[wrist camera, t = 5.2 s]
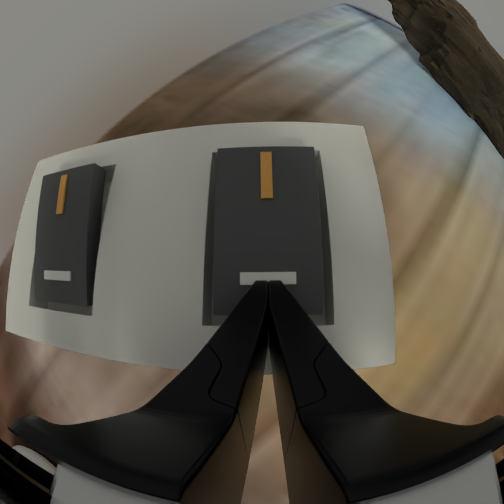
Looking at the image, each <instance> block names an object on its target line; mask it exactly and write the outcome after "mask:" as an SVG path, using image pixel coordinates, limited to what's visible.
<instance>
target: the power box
mask: <svg viewBox="0 0 504 504" xmlns="http://www.w3.org/2000/svg"><path fill="white" fill-rule="evenodd" d="M264 146H303V147H314V151H315V161H316V170H317V181H318V192H319V205H320V219H321V237H322V259H323V314H315V315H309V317H310V318H311V319H312V321H313V322H314V323H315V324H316V326H317V327H318V328H319V330H320V331H321V332H322V333H323V335H324V336H325V337H326V339H327V340H328V341H329V342H328V343H330V344H331V345H332V346H333V348H334V349H335V350H336V351H337V353H338V354H339V355H340V356H341V357H342V359H343V360H344V361H345V362H346V363H347V364H348V365H349V366H350V367H351V368H352V369H361V368H369V367H377V366H384V365H390V364H395V309H394V291H393V279H392V268H391V259H390V250H389V242H388V235H387V229H386V222H385V216H384V210H383V205H382V200H381V195H380V190H379V185H378V180H377V176H376V172H375V167H374V163H373V159H372V155H371V151H370V148H369V144H368V140H367V137H366V133H365V130H364V127H363V126H357V125H346V124H333V123H315V122H247V123H229V124H215V125H204V126H194V127H186V128H178V129H170V130H164V131H157V132H151V133H145V134H140V135H134V136H129V137H124V138H119V139H115V140H110V141H106V142H102V143H98V144H94V145H90V146H86V147H82V148H79V149H75V150H71V151H68V152H65V153H61V154H58V155H55V156H52V157H49V158H46V159H43V160H40V161H38V164H37V166H36V169H35V172H34V175H33V178H32V180H31V184H30V186H29V189H28V193H27V196H26V200H25V203H24V206H23V210H22V214H21V217H20V221H19V226H18V230H17V234H16V239H15V244H14V249H13V255H12V261H11V268H10V275H9V284H8V294H7V308H6V331H8V332H11V333H14V334H16V335H19V336H22V337H25V338H28V339H31V340H34V341H37V342H41V343H44V344H47V345H51V346H54V347H58V348H62V349H65V350H69V351H73V352H77V353H81V354H86V355H90V356H95V357H99V358H104V359H109V360H114V361H120V362H126V363H132V364H138V365H144V366H151V367H159V368H167V369H176V370H183V369H184V368H185V367H186V366H187V365H188V364H189V363H190V362H191V361H192V360H193V359H194V358H195V357H196V355H197V354H198V353H199V352H200V351H201V349H202V348H203V347H204V346H205V344H206V343H207V342H208V341H209V340H210V338H211V337H212V336H213V334H214V333H215V332H216V331H217V329H218V328H219V327H220V326H221V324H222V323H223V322H224V320H225V319H226V318H227V317H228V315H213V250H214V213H215V187H216V167H217V149H219V148H236V147H264ZM93 163H96V164H97V165H99V166H101V167H102V168H104V169H105V170H106V177H105V185H104V194H103V204H102V215H101V231H100V243H99V250H98V257H97V265H96V273H95V283H94V295H93V305H92V306H80V305H72V304H64V303H57V302H50V301H43V300H37V299H36V296H35V241H36V226H37V216H38V207H39V199H40V192H41V186H42V180H43V176H45V175H48V174H52V173H55V172H59V171H63V170H67V169H71V168H75V167H79V166H84V165H88V164H93ZM264 374H272V367H271V360H270V352H269V339H268V349H267V356H266V363H265V370H264Z"/></svg>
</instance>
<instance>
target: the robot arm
mask: <svg viewBox="0 0 504 504" xmlns="http://www.w3.org/2000/svg"><path fill="white" fill-rule="evenodd" d="M268 339H269V352H270V360H271V367H272V374H273V382H274V389H275V396H276V404H277V411H278V419H279V426H280V434H281V441H282V449H283V456H284V461H285V462H284V464H285V472H286V480H287V487H288V495H289V503H290V504H504V459H502V460H501V461H500V462H498V463H497V464H496V463H495V460H494V456H493V452H494V451H495V450H497V449H498V448H499V447H501V446H502V445H504V416H501V415H496V416H494V417H492V418H490V419H488V420H486V421H484V422H482V423H479V424H476V425H456V424H451V423H446V422H441V421H437V420H432V419H428V418H424V417H420V416H416V415H412V414H409V413H405V412H402V411H399V410H397V409H395V408H394V407H392V406H391V405H389V404H388V403H387V402H385V401H384V400H383V399H382V398H381V397H380V396H379V395H378V394H377V393H376V392H375V391H374V390H373V389H372V388H371V387H370V386H369V385H368V384H367V383H366V382H365V381H364V380H363V379H362V378H361V377H360V376H358V375H357V374H356V373H355V371H354V370H353V369H352V368H351V367H350V366H349V365H348V364H347V363H346V362H345V361H344V360H343V359H342V357H341V356H340V355H339V354H338V353H337V351H336V350H335V349H334V348H333V346H332V345H331V344H330V343H328V342H329V341H328V340H327V339H326V337H325V336H324V335H323V333H322V332H321V331H320V330H319V328H318V327H317V326H316V324H315V323H314V322H313V321H312V319H311V318H310V317H309V315H308V314H307V313H306V312H305V310H304V309H303V308H302V306H301V305H300V304H299V303H298V301H297V300H296V299H295V298H294V296H293V295H292V294H291V292H290V291H289V290H288V289H287V287H286V286H285V285H284V283H283V282H282V281H281V280H270V281H269V282H268V281H267V280H256V281H255V282H254V283H253V284H252V286H251V287H250V288H249V290H248V291H247V292H246V294H245V295H244V296H243V297H242V299H241V300H240V301H239V303H238V304H237V305H236V306H235V308H234V309H233V310H232V312H231V313H230V314H229V315H228V317H227V318H226V319H225V320H224V322H223V323H222V324H221V326H220V327H219V328H218V329H217V331H216V332H215V333H214V334H213V336H212V337H211V338H210V340H209V341H208V342H207V343H206V344H205V346H204V347H203V348H202V349H201V351H200V352H199V353H198V354H197V355H196V357H195V358H194V359H193V360H192V361H191V362H190V363H189V364H188V365H187V366H186V367H185V368H184V369H183V370H182V371H181V372H180V373H179V374H178V375H177V376H176V377H175V378H174V379H173V380H172V381H171V382H170V383H169V384H168V385H167V386H166V387H165V388H163V389H162V390H161V391H160V392H159V393H158V394H157V395H156V396H155V397H154V398H153V399H151V400H150V401H149V402H148V403H147V404H145V405H144V406H142V407H141V408H139V409H137V410H135V411H132V412H129V413H125V414H121V415H117V416H113V417H109V418H104V419H100V420H95V421H90V422H85V423H80V424H73V425H59V424H53V423H50V422H48V421H46V420H44V419H42V418H40V417H38V416H36V415H30V416H26V417H22V418H19V419H16V420H15V421H13V422H12V423H11V424H10V425H9V426H8V429H9V430H10V431H11V432H12V433H14V434H15V435H16V436H17V437H19V438H20V439H21V440H23V441H24V442H25V443H27V444H28V445H30V446H31V447H32V448H34V449H35V450H37V451H38V452H40V453H41V454H43V455H44V456H46V457H47V458H49V459H50V460H52V461H54V462H55V463H57V467H56V471H55V474H54V475H53V474H52V473H50V472H48V471H46V470H45V469H43V468H42V467H40V466H38V465H37V464H35V463H34V462H32V461H31V460H29V459H28V458H26V457H25V456H23V455H22V454H20V453H19V452H18V451H16V450H15V449H13V448H12V447H11V446H9V445H8V444H7V443H5V442H4V441H2V440H1V439H0V504H241V499H242V494H243V489H244V484H245V479H246V474H247V469H248V463H249V462H248V461H249V458H250V452H251V447H252V442H253V436H254V430H255V425H256V419H257V413H258V407H259V401H260V395H261V389H262V382H263V376H264V370H265V363H266V356H267V349H268Z"/></svg>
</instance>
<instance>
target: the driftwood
mask: <svg viewBox="0 0 504 504" xmlns="http://www.w3.org/2000/svg"><path fill="white" fill-rule="evenodd" d="M388 1H389V2H390V3H391V4H392V8H393V10H392V14H393V16H394V19H395V21H396V22H397V23H398V24H399V25H401V27H402V29H403V30H404V32H405V35H406V38H407V39H408V41H409V42H410V44H411V45H412V46H413V47H414V48H415V49H416V50H417V51H418V52H419V53H420V57H419V61H420V62H421V63H422V64H423V65H424V66H425V67H426V68H427V69H428V70H429V71H430V72H431V73H432V75H433V76H434V78H435V80H436V81H437V82H438V83H440V84H441V85H442V86H443V87H444V89H445V90H446V91H447V92H448V93H449V94H450V95H451V96H452V97H453V98H454V99H455V100H456V101H457V102H458V103H459V104H460V105H461V106H462V107H463V108H464V109H465V110H466V111H467V113H468V114H469V116H470V117H471V118H472V119H476V121H477V123H478V125H479V126H480V127H482V128H483V129H484V131H485V132H486V134H487V135H488V137H489V138H490V140H491V141H492V143H493V144H494V145H495V147H496V148H497V150H498V151H499V153H500V154H501V155H502V157H503V158H504V59H503V58H502V57H501V56H500V55H499V54H498V53H497V52H496V51H495V49H494V48H493V47H492V46H491V45H490V44H489V42H488V41H487V39H486V38H485V37H484V35H483V34H482V32H481V31H480V30H479V28H478V26H477V23H476V20H475V19H474V18H473V17H472V16H471V15H470V13H469V12H468V11H467V10H466V9H465V8H464V7H463V6H462V5H461V4H460V3H459V2H457V1H456V0H388ZM406 30H407V31H406Z"/></svg>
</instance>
